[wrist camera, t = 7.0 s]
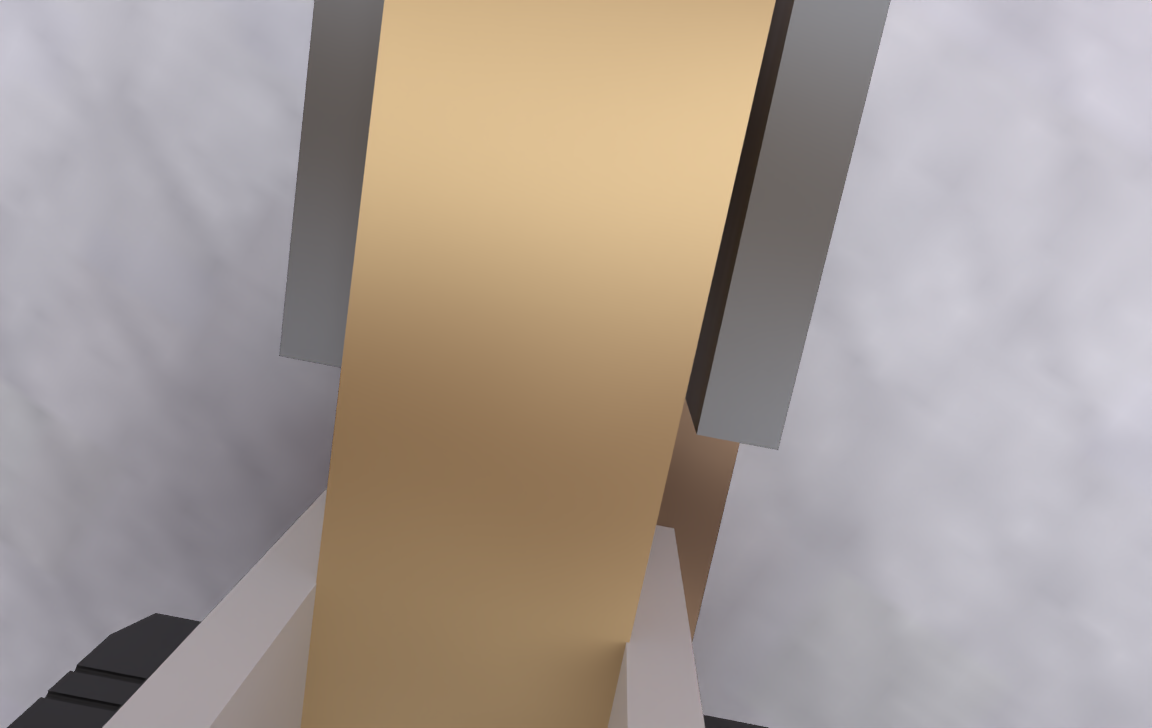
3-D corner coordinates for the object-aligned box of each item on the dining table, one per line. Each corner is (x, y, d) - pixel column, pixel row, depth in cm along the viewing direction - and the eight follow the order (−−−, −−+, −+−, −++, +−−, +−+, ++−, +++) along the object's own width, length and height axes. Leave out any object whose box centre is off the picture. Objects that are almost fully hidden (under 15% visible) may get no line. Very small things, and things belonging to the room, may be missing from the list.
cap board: (616, 934, 19) (615, 1402, 12) (290, 871, 19) (88, 1296, 12) (878, -173, 14) (1174, -579, 6) (425, -254, 14) (208, -747, 7)
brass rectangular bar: (567, 767, 14) (547, 997, 10) (369, 727, 14) (273, 943, 10) (759, -123, 11) (842, -292, 7) (497, -172, 11) (427, -369, 7)
